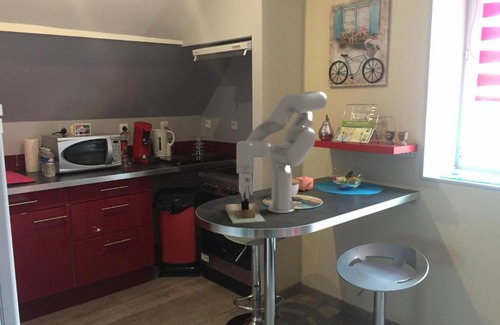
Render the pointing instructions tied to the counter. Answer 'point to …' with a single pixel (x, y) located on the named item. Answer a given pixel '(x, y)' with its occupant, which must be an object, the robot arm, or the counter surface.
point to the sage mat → (247, 219)
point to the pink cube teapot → (305, 183)
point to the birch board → (237, 207)
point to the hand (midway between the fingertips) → (245, 209)
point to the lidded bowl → (295, 187)
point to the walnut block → (244, 214)
